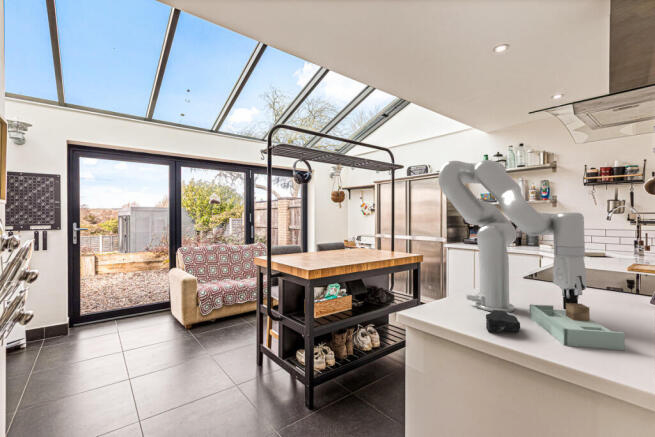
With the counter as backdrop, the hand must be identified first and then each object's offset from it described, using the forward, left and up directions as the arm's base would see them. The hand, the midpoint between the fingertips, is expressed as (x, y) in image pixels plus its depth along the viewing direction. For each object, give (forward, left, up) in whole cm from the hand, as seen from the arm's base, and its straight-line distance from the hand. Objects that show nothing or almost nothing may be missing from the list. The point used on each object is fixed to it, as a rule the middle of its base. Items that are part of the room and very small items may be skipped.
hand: (570, 310), depth 92 cm
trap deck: (-3, -7, -4) cm, 9 cm away
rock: (-22, -11, -5) cm, 25 cm away
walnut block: (0, -4, -1) cm, 4 cm away
